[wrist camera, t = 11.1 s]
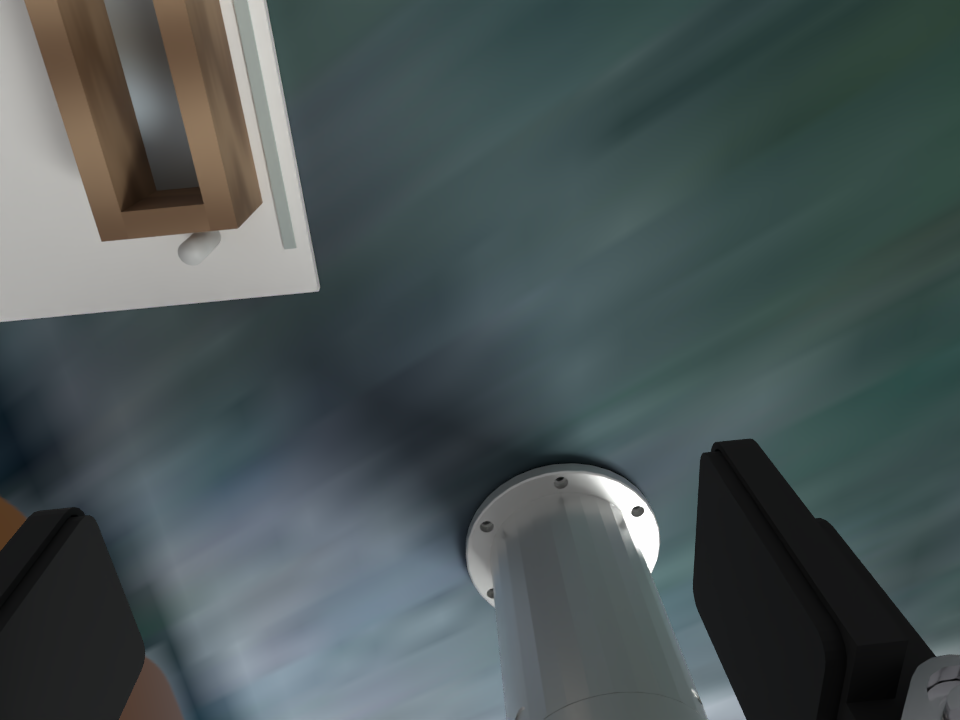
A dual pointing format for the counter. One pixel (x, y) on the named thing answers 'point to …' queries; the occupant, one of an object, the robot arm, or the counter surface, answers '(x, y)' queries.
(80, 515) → the robot arm
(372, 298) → the counter surface
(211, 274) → the wall board
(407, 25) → the counter surface
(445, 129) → the counter surface
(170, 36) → the frame
